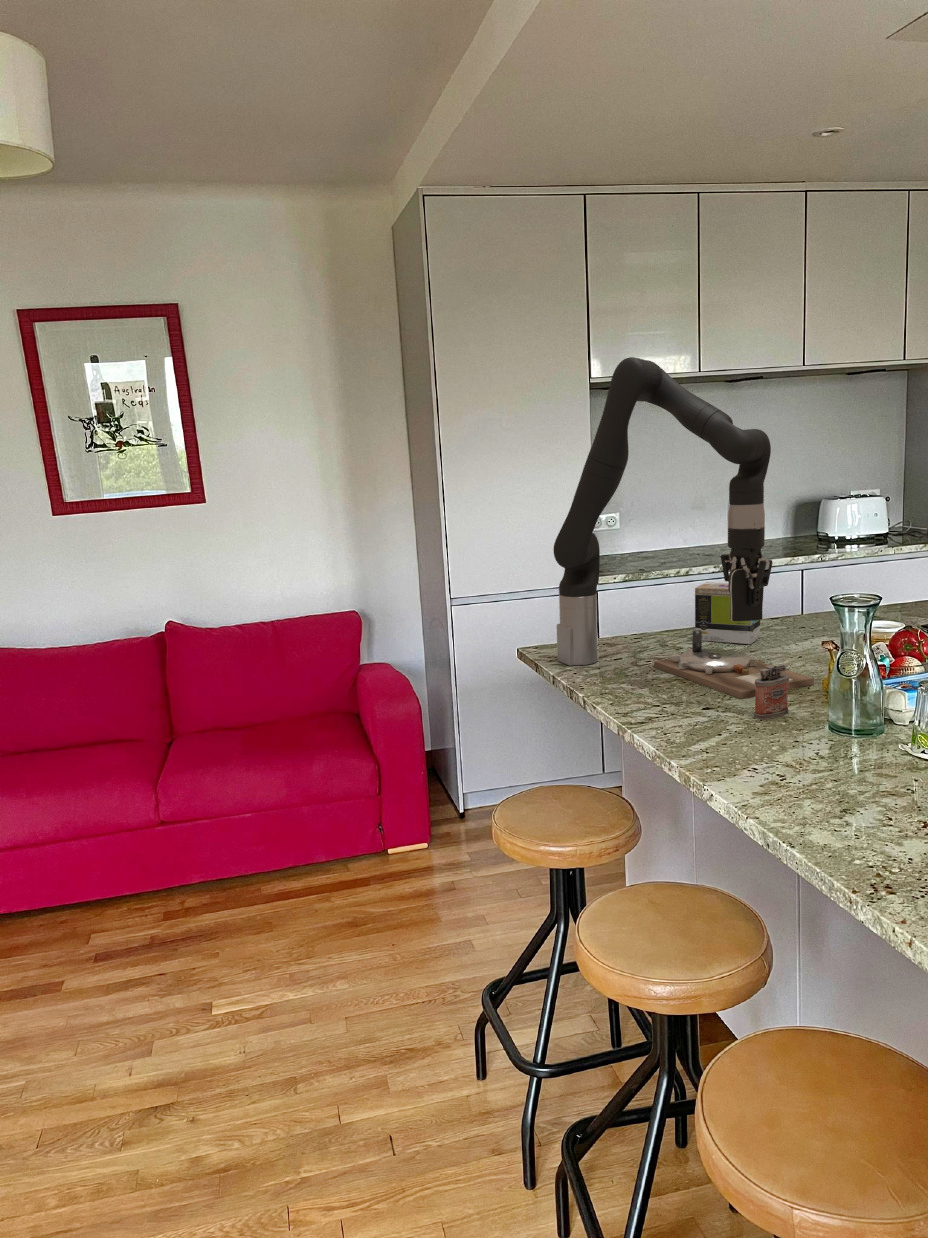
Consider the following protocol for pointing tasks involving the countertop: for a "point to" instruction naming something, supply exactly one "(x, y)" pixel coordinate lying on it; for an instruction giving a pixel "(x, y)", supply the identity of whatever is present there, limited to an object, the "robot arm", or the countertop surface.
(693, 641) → the sprocket
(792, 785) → the countertop surface
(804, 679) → the board
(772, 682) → the lighter
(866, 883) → the countertop surface
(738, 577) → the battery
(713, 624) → the tea box
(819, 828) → the countertop surface
